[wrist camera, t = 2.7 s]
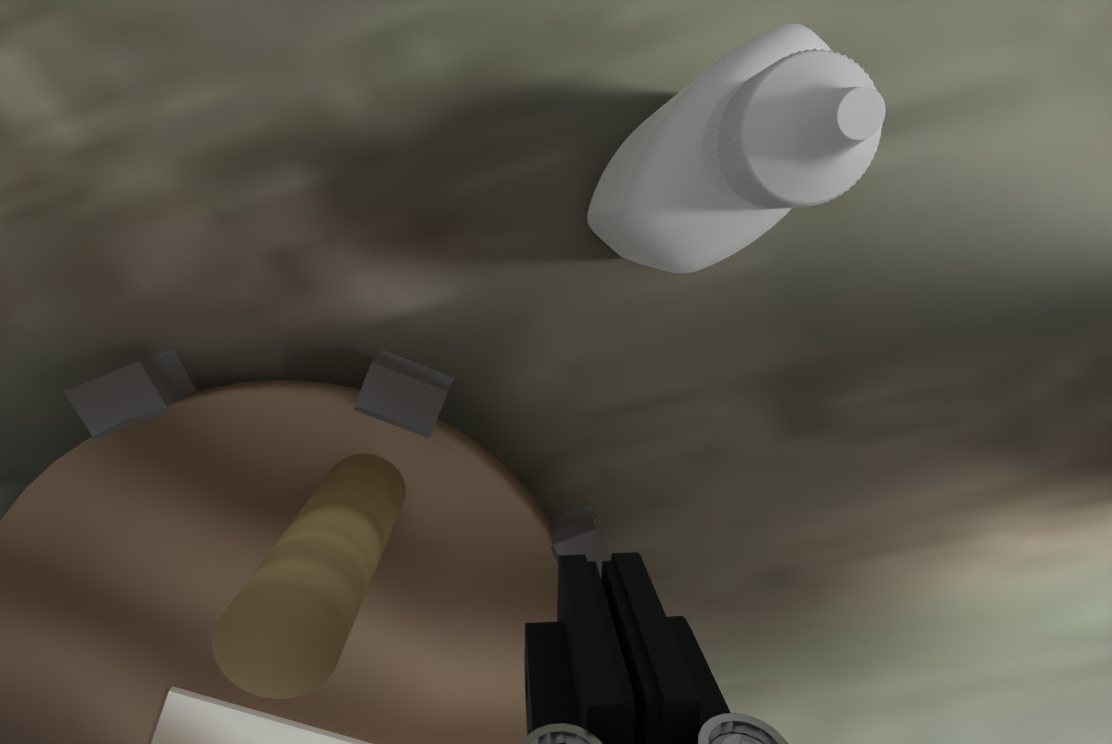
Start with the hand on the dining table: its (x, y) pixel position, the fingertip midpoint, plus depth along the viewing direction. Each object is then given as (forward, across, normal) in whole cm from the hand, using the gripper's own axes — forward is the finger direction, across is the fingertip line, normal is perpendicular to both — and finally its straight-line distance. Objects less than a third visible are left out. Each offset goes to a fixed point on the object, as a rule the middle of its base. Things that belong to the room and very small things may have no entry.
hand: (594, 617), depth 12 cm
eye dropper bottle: (+10, -3, -9) cm, 14 cm away
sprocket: (+9, +9, +7) cm, 14 cm away
